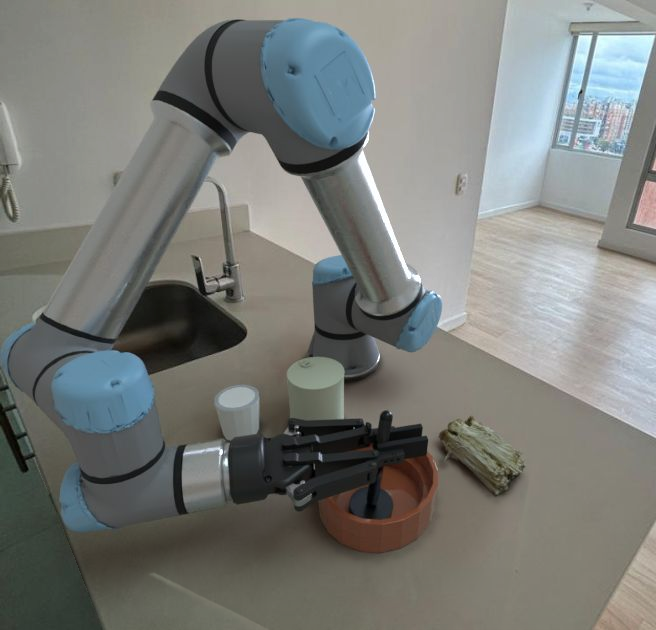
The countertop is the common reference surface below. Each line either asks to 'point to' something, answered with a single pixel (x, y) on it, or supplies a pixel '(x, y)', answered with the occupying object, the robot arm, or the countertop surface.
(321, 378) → the can
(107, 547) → the countertop surface
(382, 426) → the peg stand
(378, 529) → the bowl
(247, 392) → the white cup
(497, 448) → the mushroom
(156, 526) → the countertop surface
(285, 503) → the countertop surface
